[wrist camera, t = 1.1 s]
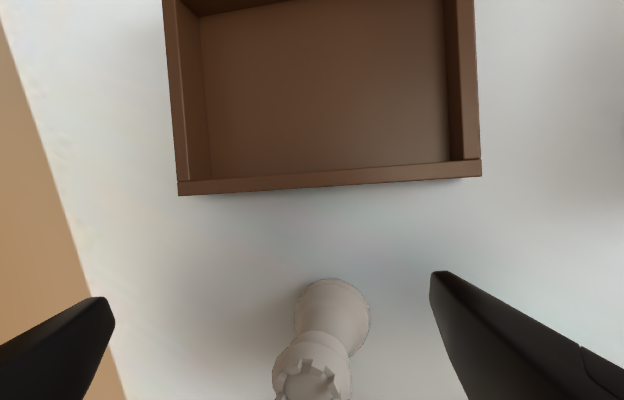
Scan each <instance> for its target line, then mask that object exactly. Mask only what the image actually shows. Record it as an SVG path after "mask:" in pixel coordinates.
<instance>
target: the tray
mask: <svg viewBox="0 0 624 400" xmlns="http://www.w3.org/2000/svg"><path fill="white" fill-rule="evenodd" d="M162 8H163V20H164V32H165V43H166V55H167V67H168V79H169V90H170V102H171V114H172V126H173V137H174V149H175V161H176V173H177V181H178V182H177V187H178V196H192V195H207V194H222V193H237V192H252V191H268V190H283V189H298V188H313V187H328V186H343V185H358V184H374V183H389V182H404V181H419V180H434V179H449V178H465V177H480V176H482V165H481V159H480V158H481V149H480V126H479V103H478V81H477V58H476V35H475V12H474V0H162Z"/></svg>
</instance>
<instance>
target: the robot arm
mask: <svg viewBox="0 0 624 400" xmlns="http://www.w3.org/2000/svg"><path fill="white" fill-rule="evenodd" d="M429 300H430V305H431V308H432V311H433V314H434V317H435V319H436V322H437V325H438V328H439V331H440V334H441V337H442V340H443V342H444V345H445V348H446V351H447V354H448V356H449V359H450V361H451V363H452V365H453V368H454V370H455V372H456V374H457V376H458V378H459V380H460V382H461V384H462V386H463V389H464V391H465V393H466V395H467V397H468V399H469V400H624V369H623V368H621V367H619V366H617V365H615V364H613V363H612V362H610V361H608V360H606V359H604V358H602V357H601V356H599V355H597V354H595V353H593V352H592V351H590V350H588V349H586V348H585V347H580V346H579V344H577V343H575V342H574V341H572V340H570V339H568V338H567V337H565V336H563V335H561V334H559V333H558V332H556V331H554V330H552V329H551V328H549V327H547V326H545V325H543V324H542V323H540V322H538V321H536V320H535V319H533V318H531V317H529V316H527V315H526V314H524V313H522V312H520V311H518V310H517V309H515V308H513V307H511V306H510V305H508V304H506V303H504V302H502V301H501V300H499V299H497V298H495V297H494V296H492V295H490V294H488V293H486V292H485V291H483V290H481V289H479V288H478V287H476V286H474V285H472V284H470V283H469V282H467V281H465V280H463V279H462V278H460V277H458V276H456V275H454V274H453V273H451V272H449V271H434V272H433V273H432V274H431V279H430V292H429ZM114 328H115V318H114V316H113V313H112V311H111V308H110V305H109V303H108V301H107V299H106V298H105V297H90V298H87V299H85V300H83V301H81V302H79V303H77V304H75V305H74V306H72V307H70V308H68V309H66V310H64V311H63V312H61V313H59V314H57V315H55V316H54V317H52V318H50V319H48V320H46V321H44V322H43V323H41V324H39V325H37V326H35V327H33V328H31V329H30V330H28V331H26V332H24V333H22V334H20V335H18V336H17V337H15V338H13V339H11V340H9V341H8V342H6V343H4V344H2V345H0V400H83V398H84V396H85V394H86V392H87V390H88V388H89V386H90V384H91V382H92V380H93V378H94V376H95V373H96V371H97V369H98V366H99V364H100V362H101V359H102V357H103V354H104V352H105V350H106V347H107V345H108V343H109V340H110V338H111V336H112V333H113V331H114Z"/></svg>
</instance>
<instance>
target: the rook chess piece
mask: <svg viewBox="0 0 624 400" xmlns="http://www.w3.org/2000/svg"><path fill="white" fill-rule="evenodd" d="M294 325H295V332H296V334H297V337H296V338H295V339H294V340H293V341H292V342H291V345H290V347H287V348H286V349H285V350H284V351H283V352H282V353H281V354H280V355H279V356H278V357H277V359H276V362H275V364H274V367H273V370H272V383H273V388H274V391H275V393H276V395H277V396H276V398H275V400H349V399H350V397H351V394H352V382H351V375H350V373H349V356H351V355H353V354H354V353H355V352H356V351H357V350H358V349H359V348H360V347H361V346H362V345H363V343H364V341H365V338H366V336H367V333H368V328H369V325H370V310H369V307H368V305H367V303H366V301H365V299H364V296H363V295H362V294H361V293H360V292H359V291H358V290H357V289H356V288H355V287H354V286H353V285H351V284H348V283H346V282H343V281H341V280H339V279H323V280H320V281H318V282H315V283H313V284H311V285H310V286H309V287H308V288H307V289H306V290H305V291H304V292H303V293H302V294H301V296H300V299H299V301H298V304H297V306H296V309H295V312H294Z"/></svg>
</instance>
